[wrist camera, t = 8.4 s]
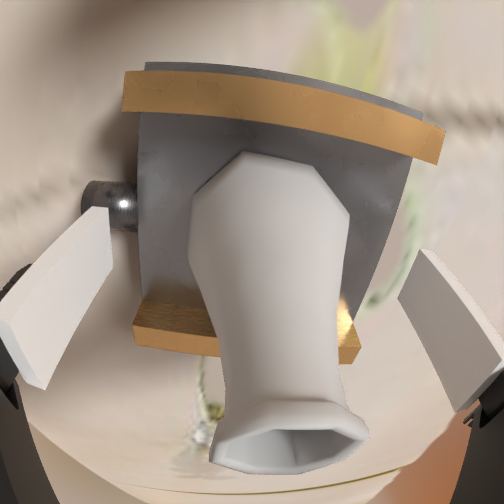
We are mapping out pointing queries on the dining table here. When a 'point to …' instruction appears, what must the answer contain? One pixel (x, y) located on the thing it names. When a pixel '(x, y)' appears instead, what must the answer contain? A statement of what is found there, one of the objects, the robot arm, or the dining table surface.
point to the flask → (274, 314)
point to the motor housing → (261, 142)
